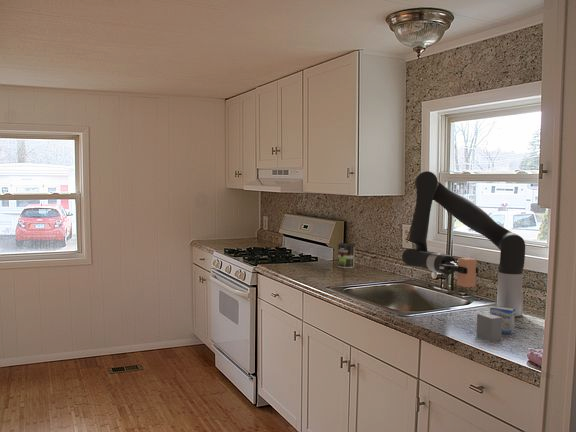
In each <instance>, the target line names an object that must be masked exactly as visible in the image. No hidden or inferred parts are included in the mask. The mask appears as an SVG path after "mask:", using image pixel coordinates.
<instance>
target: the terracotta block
mask: <svg viewBox="0 0 576 432" xmlns="http://www.w3.org/2000/svg"><path fill="white" fill-rule="evenodd" d="M457 261H458V266H459V267H465V268H467V269H468V272H467V274H463V273H457V277H456V278H457V280H456V281H457V282H456V283H457V284H456V285H457V286H459V287H463V288H472V287H474V288H475V287H476V280H477V279H476V276H477V273H476V267H477V259H476V258H471V257H458V259H457Z"/></svg>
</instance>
